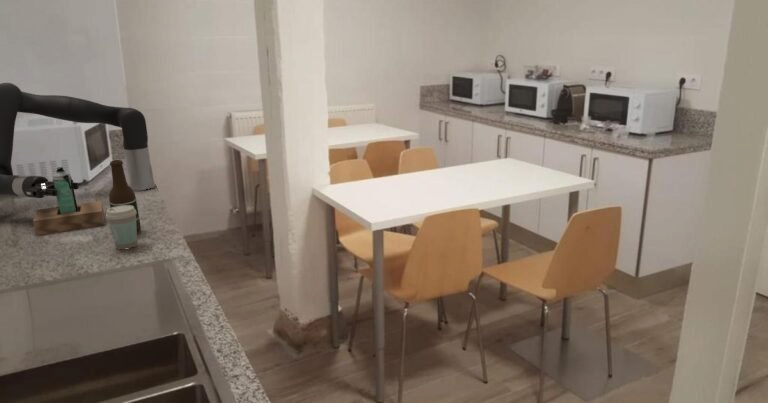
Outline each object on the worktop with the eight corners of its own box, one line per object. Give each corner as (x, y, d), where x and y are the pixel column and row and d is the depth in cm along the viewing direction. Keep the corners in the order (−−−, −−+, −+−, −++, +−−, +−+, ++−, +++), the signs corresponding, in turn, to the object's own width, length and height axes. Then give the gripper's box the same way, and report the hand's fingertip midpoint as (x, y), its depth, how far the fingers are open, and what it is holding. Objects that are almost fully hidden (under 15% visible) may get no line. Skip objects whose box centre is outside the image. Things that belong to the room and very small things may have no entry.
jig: (103, 213, 203) (101, 200, 201) (104, 225, 191) (101, 211, 189) (40, 223, 195) (37, 209, 193) (36, 235, 183) (33, 221, 181)
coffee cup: (117, 242, 175) (111, 205, 171) (145, 240, 175) (139, 203, 172) (107, 252, 167) (99, 214, 163) (136, 250, 167) (130, 212, 164)
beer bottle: (146, 229, 185) (134, 158, 178) (129, 238, 178) (116, 164, 171) (127, 228, 187) (115, 157, 180) (109, 236, 180) (96, 163, 173)
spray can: (83, 221, 195) (72, 165, 189) (74, 226, 190) (62, 169, 184) (69, 221, 196) (57, 165, 190) (58, 226, 191) (46, 169, 185)
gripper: (9, 181, 186) (46, 184, 181) (46, 171, 199) (82, 173, 194) (14, 202, 189) (51, 206, 183) (51, 191, 201) (86, 194, 196)
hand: (67, 189), depth 189 cm, fingers open, 8 cm apart
